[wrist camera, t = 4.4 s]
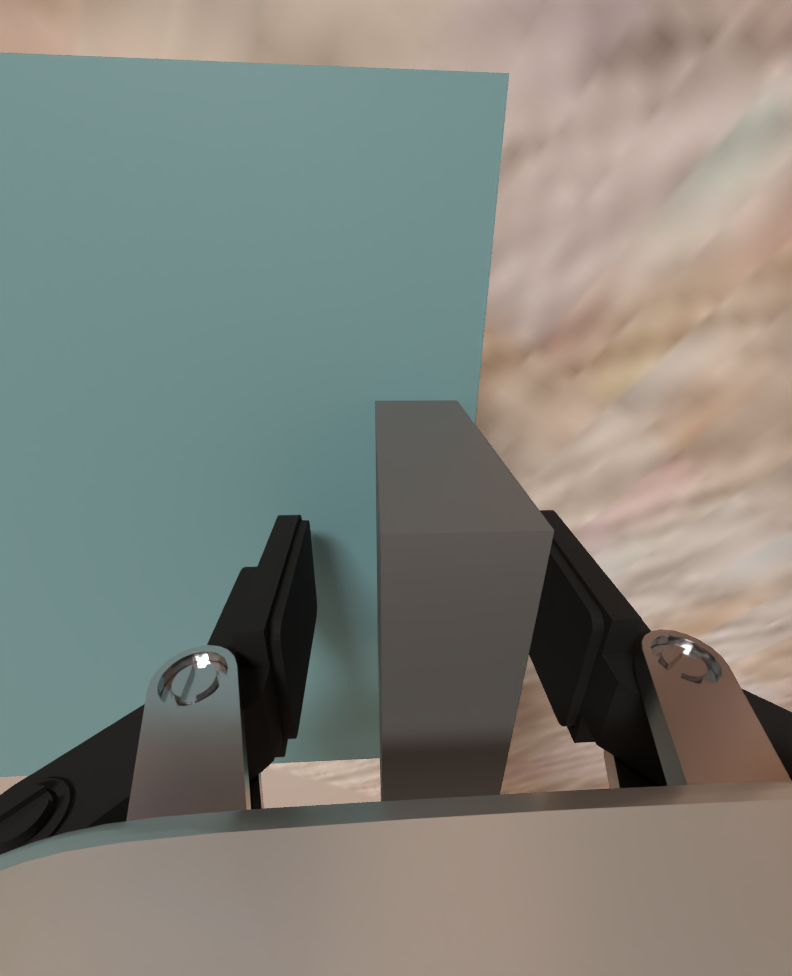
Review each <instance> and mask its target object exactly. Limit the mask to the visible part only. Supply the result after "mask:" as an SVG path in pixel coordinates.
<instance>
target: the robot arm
mask: <svg viewBox="0 0 792 976" xmlns="http://www.w3.org/2000/svg"><path fill="white" fill-rule="evenodd" d="M540 512H541V513H542V515H543V516H544V517H545V519H546V520H547V521H548V523H549V524H550V525H551V527H552V528H553V529H554V534H553V539H552V544H551V549H550V554H549V559H548V563H547V568H546V573H545V578H544V583H543V588H542V592H541V597H540V602H539V607H538V612H537V617H536V621H535V626H534V631H533V636H532V641H531V646H530V650H529V655H530V657H531V660H532V662H533V664H534V667H535V669H536V671H537V674H538V676H539V678H540V681H541V683H542V685H543V688H544V690H545V692H546V695H547V697H548V699H549V702H550V704H551V706H552V709H553V711H554V713H555V716H556V718H557V720H558V722H559V724H560V725H561V726H567V728H568V730H569V732H570V734H571V737H572V739H573V741H574V743H580V742H596V744H597V745H598V746H599V747H601V748H603V749H604V759H605V765H606V771H607V776H608V782H609V788H610V789H595V790H576V791H558V792H539V793H521V794H503V795H485V796H467V797H449V798H432V799H414V800H397V801H381V802H366V803H349V804H334V805H333V804H332V805H317V806H300V807H283V808H267V809H264V803H263V793H262V783H261V772H262V771H263V770H264V769H265V768H266V767H267V766H269V765H270V764H271V763H272V762H273V761H274V759H275V757H285V754H286V748H287V743H288V739H296V738H297V735H298V730H299V724H300V717H301V711H302V705H303V699H304V693H305V686H306V680H307V674H308V668H309V661H310V655H311V649H312V643H313V636H314V630H315V624H316V618H317V596H316V585H315V574H314V563H313V552H312V541H311V530H310V522H309V520H302V517H301V515H278V516H277V519H276V521H275V524H274V526H273V529H272V531H271V534H270V536H269V539H268V541H267V544H266V546H265V549H264V551H263V554H262V556H261V559H260V561H259V564H258V566H257V567H244V568H242V569H241V571H240V573H239V575H238V577H237V579H236V582H235V584H234V586H233V588H232V590H231V593H230V595H229V597H228V599H227V602H226V604H225V606H224V608H223V610H222V613H221V615H220V617H219V619H218V621H217V624H216V626H215V628H214V630H213V633H212V635H211V637H210V639H209V641H208V644H207V645H205V646H198V647H194V648H191V649H188V650H185V651H182V652H180V653H179V654H177V655H175V656H174V657H172V658H170V659H169V660H168V661H166V662H165V663H164V664H163V665H162V666H161V667H160V668H159V669H158V670H157V671H156V673H155V674H154V675H153V677H152V678H151V680H150V683H149V686H148V689H147V694H146V700H145V704H144V705H142V706H140V707H139V708H137V709H136V710H134V711H132V712H131V713H129V714H128V715H126V716H124V717H123V718H121V719H119V720H118V721H116V722H115V723H113V724H111V725H110V726H108V727H107V728H105V729H103V730H102V731H100V732H99V733H97V734H95V735H94V736H92V737H91V738H89V739H87V740H86V741H84V742H83V743H81V744H79V745H78V746H76V747H75V748H73V749H71V750H70V751H68V752H67V753H65V754H63V755H62V756H60V757H58V758H57V759H55V760H54V761H52V762H50V763H49V764H47V765H46V766H44V767H42V768H41V769H39V770H38V771H36V772H34V773H33V774H31V775H30V776H28V777H27V778H25V779H23V780H22V781H20V782H18V783H17V784H15V785H14V786H12V787H11V788H10V789H8V790H7V791H5V792H4V793H3V794H1V795H0V976H792V712H790V711H788V710H786V709H784V708H782V707H779V706H777V705H775V704H773V703H771V702H769V701H767V700H765V699H762V698H760V697H758V696H756V695H754V694H752V693H750V692H748V691H746V690H743V689H741V687H740V685H739V683H738V682H737V680H736V678H735V676H734V674H733V672H732V671H731V669H730V667H729V666H728V664H727V663H726V661H725V660H724V659H723V657H722V656H721V655H719V654H718V653H717V652H716V651H715V650H714V649H713V648H711V647H710V646H708V645H707V644H705V643H703V642H702V641H700V640H698V639H696V638H694V637H692V636H689V635H687V634H684V633H680V632H677V631H673V630H655V631H651V630H650V629H649V628H648V627H647V625H646V624H645V623H644V622H643V621H642V618H641V617H640V616H639V615H638V613H637V612H636V611H635V610H634V608H633V607H632V606H631V605H630V604H629V602H628V601H627V600H626V599H625V597H624V596H623V595H622V594H621V592H620V591H619V590H618V589H617V588H616V586H615V585H614V584H613V583H612V581H611V580H610V579H609V578H608V576H607V575H606V574H605V573H604V571H603V570H602V569H601V568H600V567H599V565H598V564H597V563H596V562H595V560H594V559H593V558H592V557H591V555H590V554H589V553H588V552H587V551H586V549H585V548H584V547H583V546H582V544H581V543H580V542H579V541H578V539H577V538H576V537H575V536H574V535H573V533H572V532H571V531H570V530H569V528H568V527H567V526H566V525H565V523H564V522H563V521H562V520H561V519H560V517H559V516H558V515H557V514H556V512H554V511H553V510H542V511H540Z"/></svg>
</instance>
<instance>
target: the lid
mask: <svg viewBox="0 0 792 976" xmlns="http://www.w3.org/2000/svg"><path fill="white" fill-rule="evenodd" d="M508 79H509V73H488V72H463V71H439V70H414V69H390V68H365V67H341V66H316V65H291V64H267V63H242V62H218V61H193V60H169V59H144V58H120V57H95V56H71V55H46V54H22V53H0V777H8V776H9V777H10V776H28V775H29V776H30V775H31V774H33V773H34V772H36V771H38V770H39V769H41V768H42V767H44V766H46V765H47V764H49V763H50V762H52V761H54V760H55V759H57V758H58V757H60V756H62V755H63V754H65V753H67V752H68V751H70V750H71V749H73V748H75V747H76V746H78V745H79V744H81V743H83V742H84V741H86V740H87V739H89V738H91V737H92V736H94V735H95V734H97V733H99V732H100V731H102V730H103V729H105V728H107V727H108V726H110V725H111V724H113V723H115V722H116V721H118V720H119V719H121V718H123V717H124V716H126V715H128V714H129V713H131V712H132V711H134V710H136V709H137V708H139V707H140V706H142V705H144V704H145V700H146V694H147V689H148V686H149V683H150V680H151V678H152V677H153V675H154V674H155V673H156V671H157V670H158V669H159V668H160V667H161V666H162V665H163V664H164V663H165V662H166V661H168V660H169V659H170V658H172V657H174V656H175V655H177V654H179V653H180V652H182V651H185V650H188V649H191V648H194V647H198V646H205V645H207V644H208V641H209V639H210V637H211V635H212V633H213V630H214V628H215V626H216V624H217V621H218V619H219V617H220V615H221V613H222V610H223V608H224V606H225V604H226V602H227V599H228V597H229V595H230V593H231V590H232V588H233V586H234V584H235V582H236V579H237V577H238V575H239V573H240V571H241V569H242V568H244V567H257V566H258V564H259V561H260V559H261V556H262V554H263V551H264V549H265V546H266V544H267V541H268V539H269V536H270V534H271V531H272V529H273V526H274V524H275V521H276V519H277V516H278V515H301V517H302V520H309V522H310V530H311V541H312V552H313V563H314V574H315V585H316V596H317V618H316V624H315V630H314V636H313V643H312V649H311V655H310V661H309V668H308V674H307V680H306V686H305V693H304V699H303V705H302V711H301V717H300V724H299V730H298V735H297V738H296V739H288V743H287V748H286V754H285V757H275V759H274V761H273V762H272V763H290V762H310V761H330V760H350V759H370V758H380V777H381V801H397V800H414V799H432V798H449V797H467V796H485V795H500V790H501V786H502V781H503V776H504V771H505V766H506V761H507V757H508V752H509V747H510V742H511V737H512V733H513V728H514V723H515V718H516V713H517V708H518V704H519V699H520V694H521V689H522V684H523V679H524V675H525V670H526V665H527V660H528V655H529V650H530V646H531V641H532V636H533V631H534V626H535V621H536V617H537V612H538V607H539V602H540V597H541V592H542V588H543V583H544V578H545V573H546V568H547V563H548V559H549V554H550V549H551V544H552V539H553V534H554V529H553V528H552V527H551V525H550V524H549V523H548V521H547V520H546V519H545V517H544V516H543V515H542V513H541V512H540V511H539V509H538V508H537V507H536V505H535V504H534V503H533V501H532V500H531V499H530V497H529V496H528V495H527V493H526V492H525V491H524V489H523V488H522V487H521V485H520V484H519V483H518V481H517V480H516V479H515V477H514V476H513V475H512V473H511V472H510V471H509V469H508V468H507V467H506V465H505V464H504V462H503V461H502V460H501V458H500V457H499V456H498V454H497V453H496V452H495V450H494V449H493V448H492V446H491V445H490V444H489V442H488V441H487V440H486V438H485V437H484V436H483V434H482V433H481V432H480V430H479V429H478V428H477V426H476V425H475V419H476V409H477V398H478V388H479V378H480V368H481V357H482V347H483V337H484V326H485V316H486V306H487V296H488V285H489V275H490V265H491V254H492V244H493V234H494V224H495V213H496V203H497V193H498V182H499V172H500V162H501V152H502V141H503V131H504V121H505V110H506V100H507V90H508Z"/></svg>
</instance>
